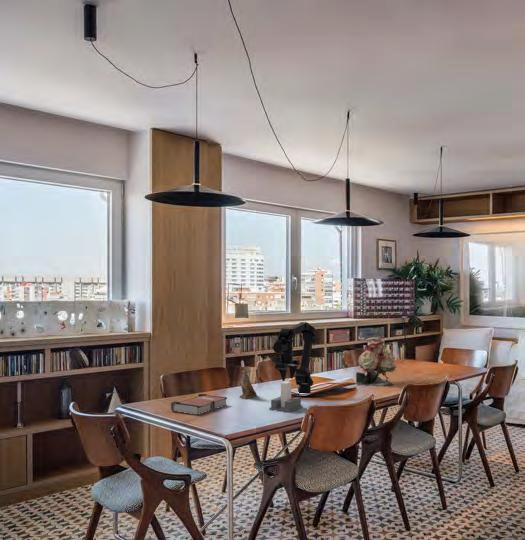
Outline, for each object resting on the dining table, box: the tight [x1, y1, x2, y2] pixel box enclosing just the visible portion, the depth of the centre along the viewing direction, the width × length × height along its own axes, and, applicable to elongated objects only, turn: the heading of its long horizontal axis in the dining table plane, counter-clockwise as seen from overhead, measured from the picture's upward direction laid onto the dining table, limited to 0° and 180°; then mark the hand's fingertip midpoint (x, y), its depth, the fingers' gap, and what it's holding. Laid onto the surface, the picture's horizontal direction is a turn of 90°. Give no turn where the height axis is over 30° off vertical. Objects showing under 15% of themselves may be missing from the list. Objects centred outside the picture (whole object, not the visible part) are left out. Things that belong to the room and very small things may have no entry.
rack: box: [268, 396, 303, 413], centre depth 294 cm, size 14×12×5 cm
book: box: [170, 393, 228, 414], centre depth 296 cm, size 26×18×5 cm
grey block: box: [280, 380, 292, 408], centre depth 294 cm, size 5×4×12 cm
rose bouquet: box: [355, 336, 397, 387], centre depth 365 cm, size 26×29×30 cm
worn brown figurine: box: [239, 369, 257, 400], centre depth 322 cm, size 12×6×18 cm, turn 142°
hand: (287, 379), depth 311 cm, fingers open, 9 cm apart
